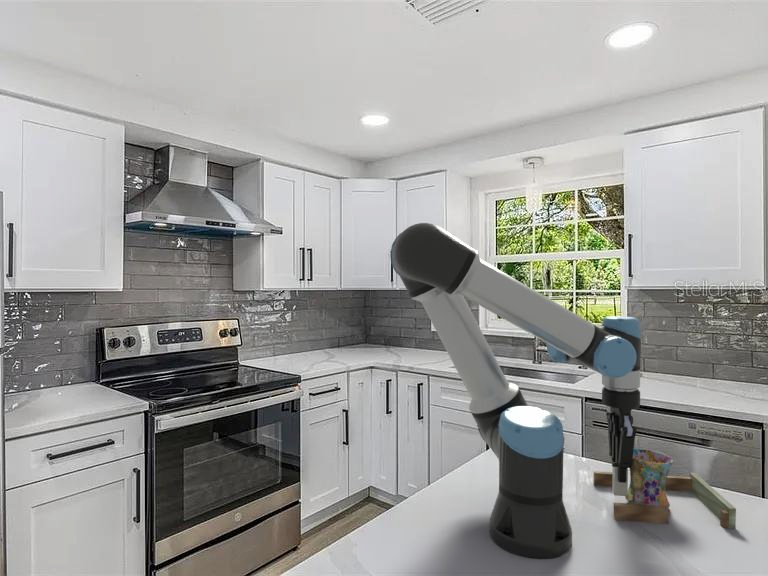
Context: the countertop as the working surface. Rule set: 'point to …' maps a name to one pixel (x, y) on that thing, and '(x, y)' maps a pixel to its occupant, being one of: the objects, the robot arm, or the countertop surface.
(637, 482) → the mug
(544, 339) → the robot arm
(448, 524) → the countertop surface
